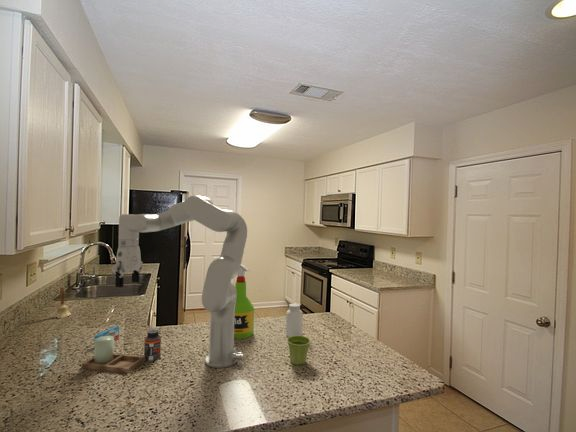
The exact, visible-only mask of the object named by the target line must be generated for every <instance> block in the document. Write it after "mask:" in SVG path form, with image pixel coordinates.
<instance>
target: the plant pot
mask: <svg viewBox="0 0 576 432" xmlns="http://www.w3.org/2000/svg"><path fill="white" fill-rule="evenodd" d="M286 339H287V340H286V341H287V344H288V350H289V351H288V352H289V359H290V363H291V364H293V365H296V366H298V365H305V364H306V362H307V356H308V351H309V350H308V349H309V346H310V343H311V339H310V338H309V337H308V336H304V335H302V336H291V337H287V338H286Z"/></svg>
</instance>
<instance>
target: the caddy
mask: <svg viewBox="0 0 576 432" xmlns="http://www.w3.org/2000/svg"><path fill="white" fill-rule="evenodd" d="M145 361H146V360H145V356H143V355H135V354H134V355H133V354H125V353H116V352H114V360H112V361H110V362H109V363H107V364H106V365H104V364H95V363H94V356H92V357H91V358H89V359H87V360H86V361H84V362H82V363H81V368H82V369H88V370H89V369H91V370H96V371H97V370H98V371H106V372H116V373H122V374H124V373H125V374H129V373H130V372H131V371H134V369H136V368H138V367H139V366H140V365H141V364H143V363H144V362H145Z"/></svg>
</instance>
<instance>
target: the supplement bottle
mask: <svg viewBox="0 0 576 432" xmlns="http://www.w3.org/2000/svg"><path fill="white" fill-rule="evenodd" d="M159 333H160V331H159V330H158V329H151V330H148V331H147V336H146V337H145V338H144V353H143V355H144V356H145V361H147V362H153V361H156V360H158V359H160V358H161V352H162V351H161V350H162V349H161V345H162V344H161V343H162V337H161V335H160V334H159Z"/></svg>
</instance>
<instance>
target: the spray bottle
mask: <svg viewBox="0 0 576 432" xmlns="http://www.w3.org/2000/svg"><path fill="white" fill-rule="evenodd" d="M249 271H250V269H249V268H247V266H245V265H244V264H242V263H241V266H240V271H239V273H238V275H237V276H236V281H235V284H234V286H235V288H236V292H237V296H236V304H235V321H234V339H245V338H249V337H251V336H253V335H254V328H255V327H254V326H255V324H254V321H255V319H254V318H255V316H254V315H255V314H254V313H255V307H254V306H253V304H252V302H251V300H250V299H249V298H248V297H247V281H246V277H245V275H246V274H245V272H249Z"/></svg>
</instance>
